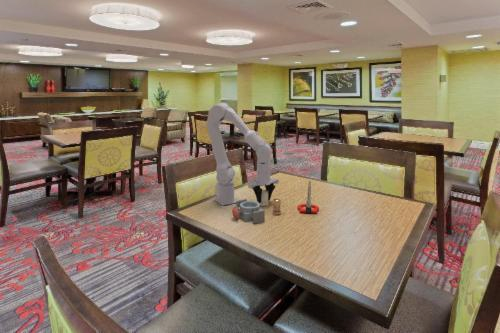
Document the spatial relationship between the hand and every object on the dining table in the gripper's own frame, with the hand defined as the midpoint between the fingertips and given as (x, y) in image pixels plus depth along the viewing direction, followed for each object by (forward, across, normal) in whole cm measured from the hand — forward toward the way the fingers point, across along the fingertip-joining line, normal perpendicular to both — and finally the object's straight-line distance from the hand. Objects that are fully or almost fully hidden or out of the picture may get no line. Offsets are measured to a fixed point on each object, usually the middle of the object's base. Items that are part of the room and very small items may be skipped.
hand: (263, 201), depth 144 cm
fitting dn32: (+1, -1, -12) cm, 12 cm away
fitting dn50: (+1, 0, 0) cm, 1 cm away
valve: (+1, -13, -9) cm, 16 cm away
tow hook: (+2, +13, -15) cm, 20 cm away
